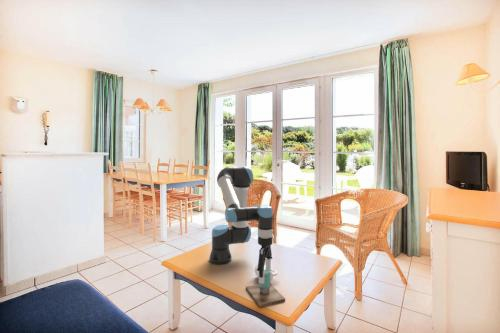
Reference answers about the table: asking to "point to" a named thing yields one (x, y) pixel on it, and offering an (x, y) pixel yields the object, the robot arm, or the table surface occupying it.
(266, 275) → the cap
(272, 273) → the mug
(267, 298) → the stud board
